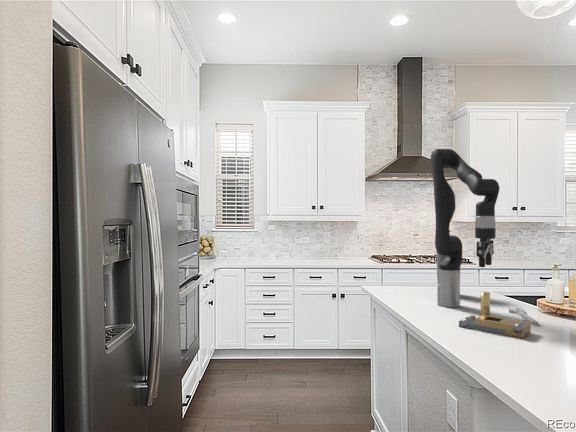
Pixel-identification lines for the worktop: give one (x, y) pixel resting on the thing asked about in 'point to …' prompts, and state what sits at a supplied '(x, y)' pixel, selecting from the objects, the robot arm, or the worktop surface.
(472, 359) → the worktop surface
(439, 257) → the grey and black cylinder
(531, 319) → the adjustable wrench
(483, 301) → the pin
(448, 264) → the robot arm
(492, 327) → the brass frame with rod
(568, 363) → the worktop surface
